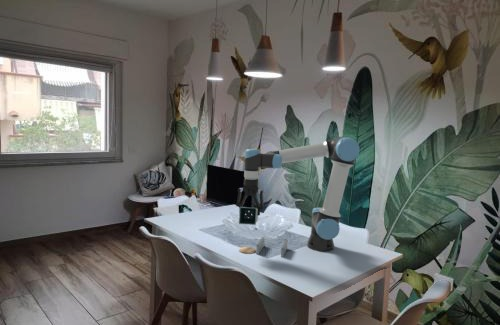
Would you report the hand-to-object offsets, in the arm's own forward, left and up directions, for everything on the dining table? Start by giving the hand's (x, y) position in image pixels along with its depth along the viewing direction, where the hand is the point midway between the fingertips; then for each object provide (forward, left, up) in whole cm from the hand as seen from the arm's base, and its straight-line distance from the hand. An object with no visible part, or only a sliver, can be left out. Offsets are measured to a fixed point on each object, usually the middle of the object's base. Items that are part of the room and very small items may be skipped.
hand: (249, 220), depth 193 cm
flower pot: (+1, -1, +3) cm, 3 cm away
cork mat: (+1, -1, -17) cm, 17 cm away
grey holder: (-12, -5, -17) cm, 22 cm away
